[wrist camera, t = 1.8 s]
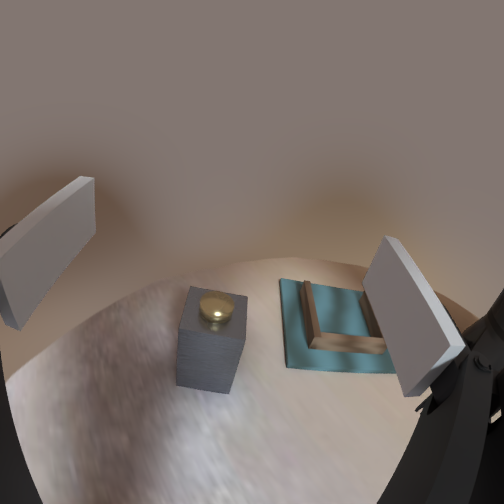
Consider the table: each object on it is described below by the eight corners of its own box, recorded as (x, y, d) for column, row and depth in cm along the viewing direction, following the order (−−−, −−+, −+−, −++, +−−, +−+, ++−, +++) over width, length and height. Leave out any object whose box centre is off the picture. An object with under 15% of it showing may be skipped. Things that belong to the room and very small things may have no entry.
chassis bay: (371, 296, 53) (378, 283, 51) (400, 373, 38) (412, 359, 36) (279, 281, 51) (284, 266, 50) (286, 367, 36) (294, 352, 34)
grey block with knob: (231, 354, 36) (249, 287, 30) (228, 394, 31) (248, 331, 25) (184, 346, 36) (191, 277, 30) (176, 385, 31) (179, 318, 25)
